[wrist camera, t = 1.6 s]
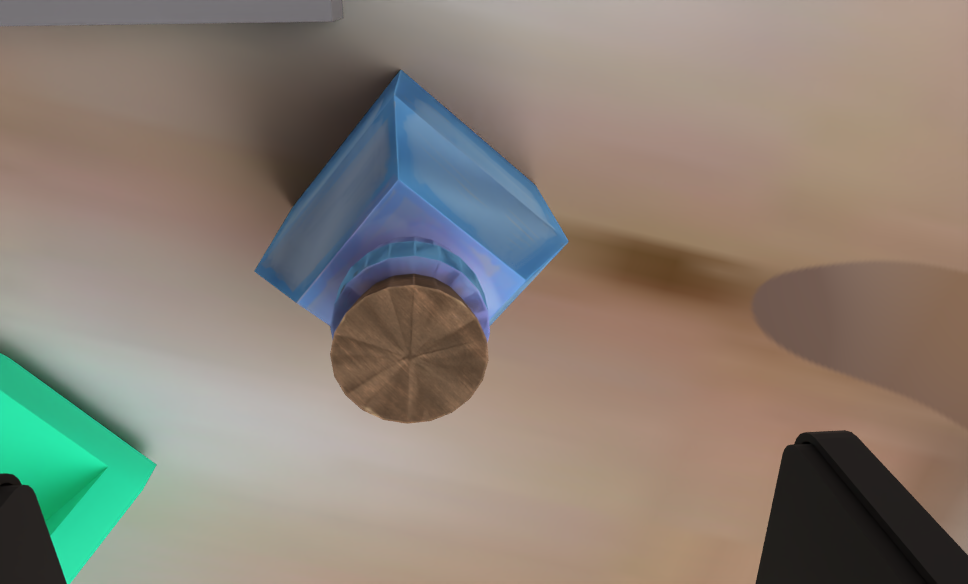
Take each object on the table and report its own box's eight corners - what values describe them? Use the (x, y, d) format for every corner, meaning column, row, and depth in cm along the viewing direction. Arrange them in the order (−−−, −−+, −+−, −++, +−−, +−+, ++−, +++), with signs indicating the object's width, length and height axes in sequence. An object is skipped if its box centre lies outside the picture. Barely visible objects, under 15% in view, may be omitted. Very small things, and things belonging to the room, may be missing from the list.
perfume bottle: (535, 185, 25) (624, 335, 14) (427, 305, 27) (432, 525, 16) (400, 69, 23) (382, 139, 12) (292, 207, 25) (189, 379, 14)
